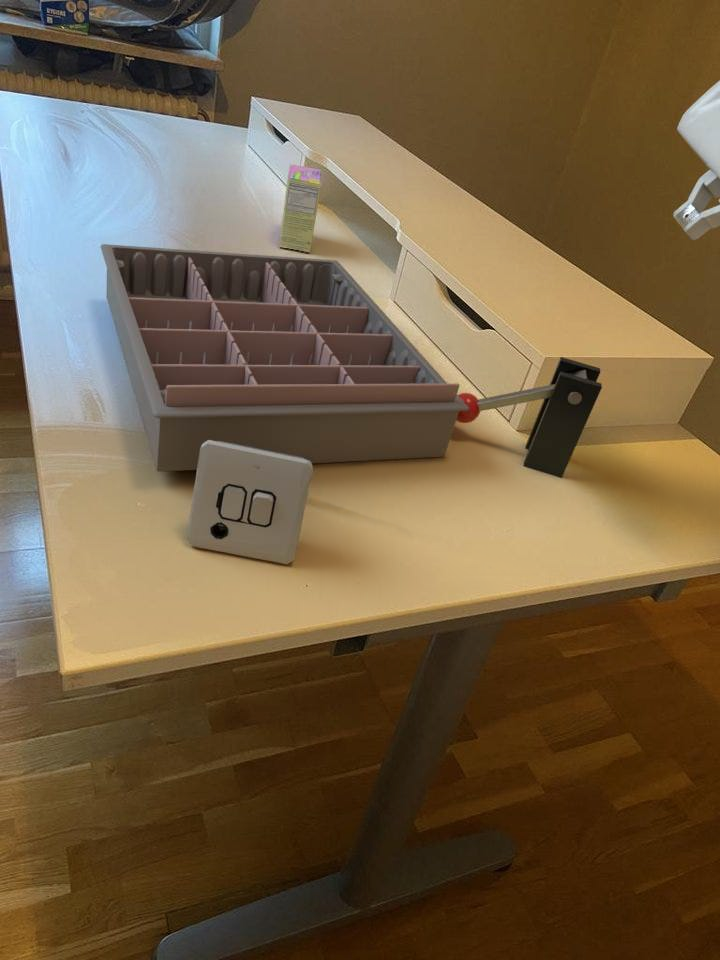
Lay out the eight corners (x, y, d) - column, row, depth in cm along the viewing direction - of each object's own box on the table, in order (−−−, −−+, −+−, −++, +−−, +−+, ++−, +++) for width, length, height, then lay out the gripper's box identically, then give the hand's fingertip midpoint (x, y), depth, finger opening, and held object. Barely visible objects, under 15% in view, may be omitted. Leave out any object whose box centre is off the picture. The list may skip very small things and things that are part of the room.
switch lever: (452, 430, 83) (444, 404, 82) (456, 417, 86) (448, 391, 84) (591, 404, 78) (585, 375, 76) (590, 391, 81) (584, 362, 79)
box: (280, 229, 136) (290, 163, 130) (311, 235, 137) (322, 169, 130) (277, 248, 128) (287, 177, 121) (309, 254, 129) (321, 184, 122)
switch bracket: (485, 476, 81) (523, 374, 74) (492, 434, 90) (527, 338, 82) (591, 509, 80) (640, 408, 73) (589, 463, 89) (633, 369, 82)
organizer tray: (327, 312, 109) (340, 246, 104) (450, 471, 81) (476, 391, 75) (99, 303, 96) (100, 227, 91) (149, 489, 68) (154, 395, 62)
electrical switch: (183, 547, 62) (195, 451, 58) (197, 515, 67) (209, 424, 62) (293, 568, 63) (312, 475, 59) (299, 535, 68) (318, 446, 63)
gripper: (921, 195, 56) (752, 315, 63) (783, 77, 69) (654, 188, 76) (896, 146, 52) (719, 280, 60) (755, 30, 65) (622, 152, 72)
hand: (682, 228), depth 68 cm, fingers closed
